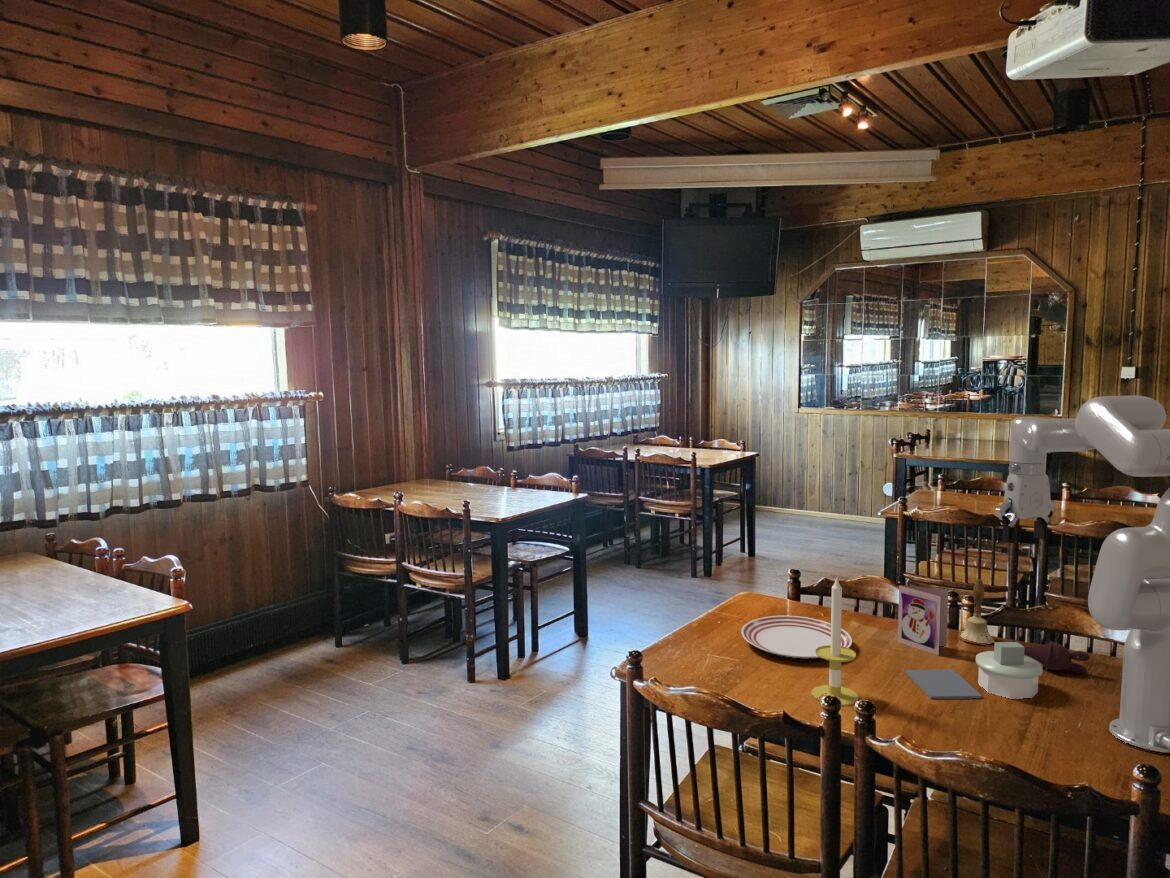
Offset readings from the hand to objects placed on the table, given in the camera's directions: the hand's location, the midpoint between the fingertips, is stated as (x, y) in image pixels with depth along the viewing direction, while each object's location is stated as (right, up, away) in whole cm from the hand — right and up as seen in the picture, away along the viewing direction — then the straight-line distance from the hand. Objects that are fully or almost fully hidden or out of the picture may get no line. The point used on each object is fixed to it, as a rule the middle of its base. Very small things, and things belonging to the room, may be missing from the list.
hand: (1024, 540), depth 187 cm
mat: (-25, -31, -11) cm, 41 cm away
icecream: (+4, -30, -4) cm, 30 cm away
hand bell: (-4, -28, +15) cm, 32 cm away
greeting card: (-19, -29, +12) cm, 36 cm away
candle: (-50, -32, -16) cm, 62 cm away
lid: (-11, -26, -14) cm, 32 cm away
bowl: (-11, -31, -13) cm, 36 cm away
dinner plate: (-51, -29, +14) cm, 60 cm away
